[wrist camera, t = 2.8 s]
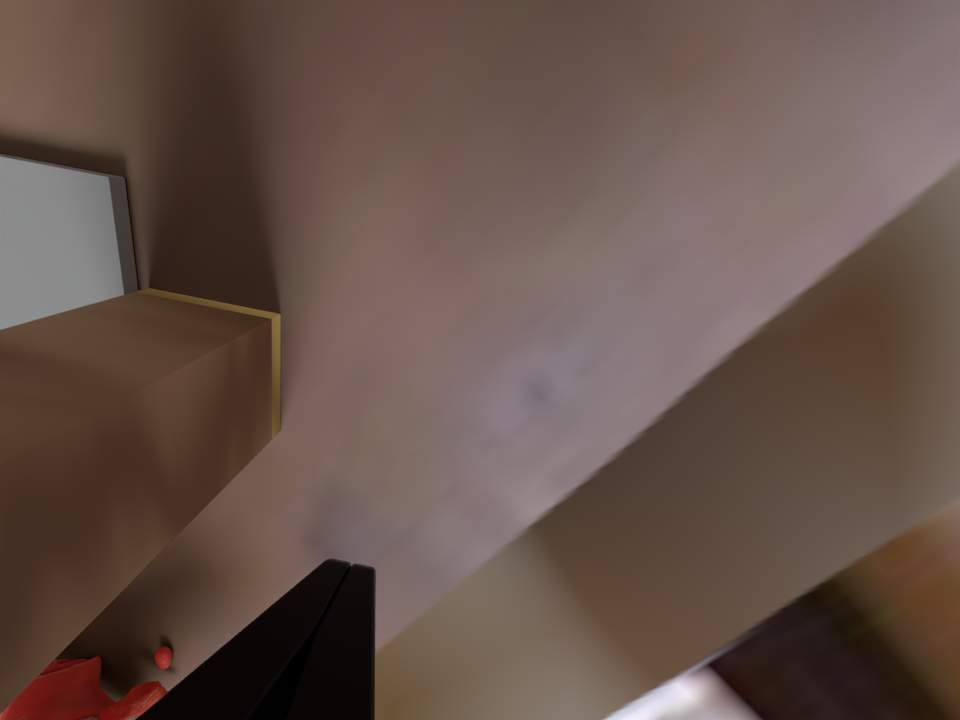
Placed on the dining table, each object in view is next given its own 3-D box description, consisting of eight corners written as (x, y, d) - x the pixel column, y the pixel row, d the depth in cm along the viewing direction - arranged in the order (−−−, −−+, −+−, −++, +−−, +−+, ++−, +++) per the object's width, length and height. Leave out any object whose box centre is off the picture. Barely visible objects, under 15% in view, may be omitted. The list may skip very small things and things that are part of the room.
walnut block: (280, 431, 15) (-44, 759, 6) (161, 406, 15) (-311, 697, 6) (280, 313, 13) (-146, 544, 5) (148, 288, 13) (-493, 469, 5)
